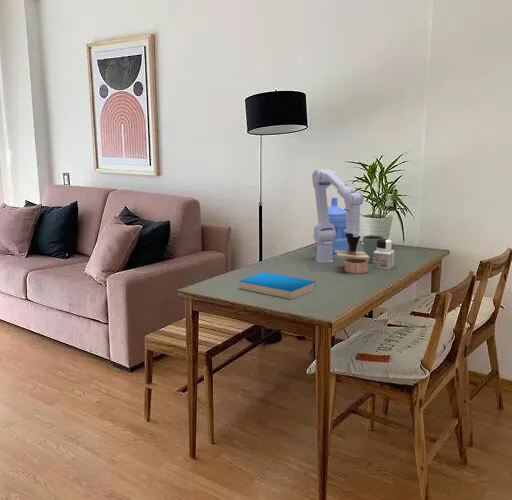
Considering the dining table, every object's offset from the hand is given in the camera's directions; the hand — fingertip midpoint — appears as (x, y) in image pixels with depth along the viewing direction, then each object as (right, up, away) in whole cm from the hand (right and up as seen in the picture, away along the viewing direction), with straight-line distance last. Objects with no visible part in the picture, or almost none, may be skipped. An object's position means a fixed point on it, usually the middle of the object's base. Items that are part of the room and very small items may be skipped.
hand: (352, 250), depth 236 cm
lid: (0, -2, 0) cm, 2 cm away
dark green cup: (+13, -6, +20) cm, 25 cm away
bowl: (+2, -9, +1) cm, 10 cm away
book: (-34, -16, -25) cm, 45 cm away
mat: (-11, -8, +7) cm, 16 cm away
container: (+16, -8, +8) cm, 20 cm away
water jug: (-2, -1, +44) cm, 44 cm away
